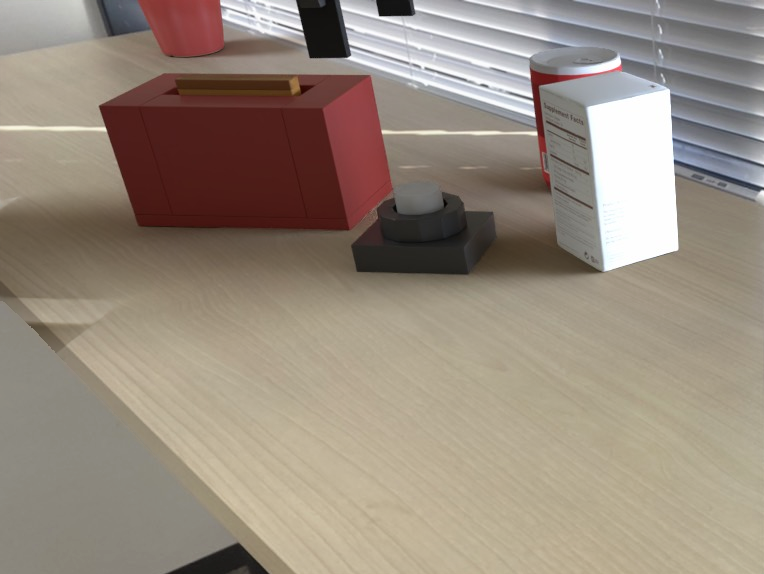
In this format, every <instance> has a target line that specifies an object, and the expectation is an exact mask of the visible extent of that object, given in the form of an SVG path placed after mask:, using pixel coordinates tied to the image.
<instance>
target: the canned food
mask: <svg viewBox="0 0 764 574" xmlns="http://www.w3.org/2000/svg"><path fill="white" fill-rule="evenodd" d="M528 66H529V75H530V85H531V93H532V102H533V109H534V118H535V119H534V120H535V125H536V127H535V128H536V134H537V141H538V142H537V143H538V150H539V160H540V166H541V174H542V178H543V180H544V183H545V185H546V187H547V188H548V189H549V190H551V184H550V175H549V167H548V157H547V150H546V142H545V134H544V125H543V117H542V109H541V100H540V92H539V86H541V85H547V84H552V83H557V82H562V81H567V80H572V79H578V78H583V77H588V76H593V75H597V74H602V73H607V72H612V71H616V70H619V71H623V68H622V60H621V55H620V53H619V52H618V51H616V50H612V49H611V48H605V47H598V46H564V47H555V48H549V49H545V50H542V51H539V52H536V53H534V54H532V55H531V56H530V57H529V65H528Z"/></svg>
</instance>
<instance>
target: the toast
mask: <svg viewBox="0 0 764 574" xmlns="http://www.w3.org/2000/svg"><path fill="white" fill-rule="evenodd" d="M210 74H211V73H198V74H184V75H182V76H180V77H178V78H176V79H175V83H176V86H177V89H178V91H179V95H230V96H298V97H299V96H300V95H301V91H300V86H299V85H300V84H299V80H298V76H297V75H210Z"/></svg>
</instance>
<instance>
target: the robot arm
mask: <svg viewBox="0 0 764 574" xmlns="http://www.w3.org/2000/svg"><path fill="white" fill-rule="evenodd" d="M295 3H296V7H297V11H298V15H299V16H298V17H299V19H300V25H301V28H302V32H303V36H304V41H305V45H306V50H307V53H308V58H309V59H348V58H350V57H352V52H351V48H350V42H349V37H348V34H347V28H346V25H345V23H346V22H345V20H344V15H343V10H342V5H341V1H340V0H295ZM375 3H376V4H375V5H376V9H377V13H378V17H413V16H415V15H416V9H415V4H414V0H375Z"/></svg>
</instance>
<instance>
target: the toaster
mask: <svg viewBox="0 0 764 574" xmlns="http://www.w3.org/2000/svg"><path fill="white" fill-rule="evenodd" d="M184 74H199V72H198V73H195V72H194V73H192V72H191V73H189V72H188V73H186V72H185V73H184V72H183V73H182V72H181V73H180V72H177V73H176V72H164V73H162V74H159V75H157V76H156V77H153V78H151V79H150V80H147V81H146V82H143V83H142V84H139V85H138V86H135V87H134V88H132V89H129V90H126V92H122V93H121V94H119V95H117V96H115V97H113V98H111V99H109V100H107V101H105V102H103V103H101V104H99V105H98V109H99V111H100V115H101V118H102V121H103V124H104V126H105V127H104V128H105V130H106V133H107V136H108V139H109V142H110V144H111V148H112V151H113V154H114V157H115V160H116V163H117V166H118V169H119V172H120V176H121V179H122V181H123V184H124V187H125V190H126V193H127V197H128V199H129V203H130V206H131V208H132V212H133V214H134V219H135V220H136V224H137V226H139V227H176V228H177V227H178V228H179V227H181V228H182V227H183V228H224V229H226V228H228V229H229V228H230V229H270V230H272V229H273V230H275V229H276V230H312V231H313V230H315V231H316V230H317V231H318V230H319V231H351V230H352V229H353V228H354V227H355V226H356V225H357V224H358V223H359V222H361V220H362V219H364V217H366V216H367V215H368V214H369V213H370V212H371V211H372V210H373V209H374V208H375V207H376V206H377V205H378V204H379V203H380V202H382V200H383V199H384V198H386V197H387V196H388V195H389V194H390V193H391V192H393V191H394V187H393V183H392V179H391V172H390V167H389V162H388V157H387V152H386V147H385V141H384V135H383V132H382V127H381V121H380V116H379V115H380V114H379V109H378V106H377V101H376V96H375V91H374V85H373V80H372V75H371V74H310V73H309V74H305V73H304V74H302V73H301V74H298V73H294V74H293V73H292V74H290V73H286V74H285V73H284V74H283V73H209V74H210V75H297V76H298V80H299V84H300V85H299V86H300V91H301V95H300V96H299V97H298V96H230V95H179V91H178V89H177V86H176V83H175V79H176V78H178V77H180V76H182V75H184ZM372 208H373V209H372ZM371 209H372V210H371ZM370 210H371V211H370ZM369 211H370V212H369Z"/></svg>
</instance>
